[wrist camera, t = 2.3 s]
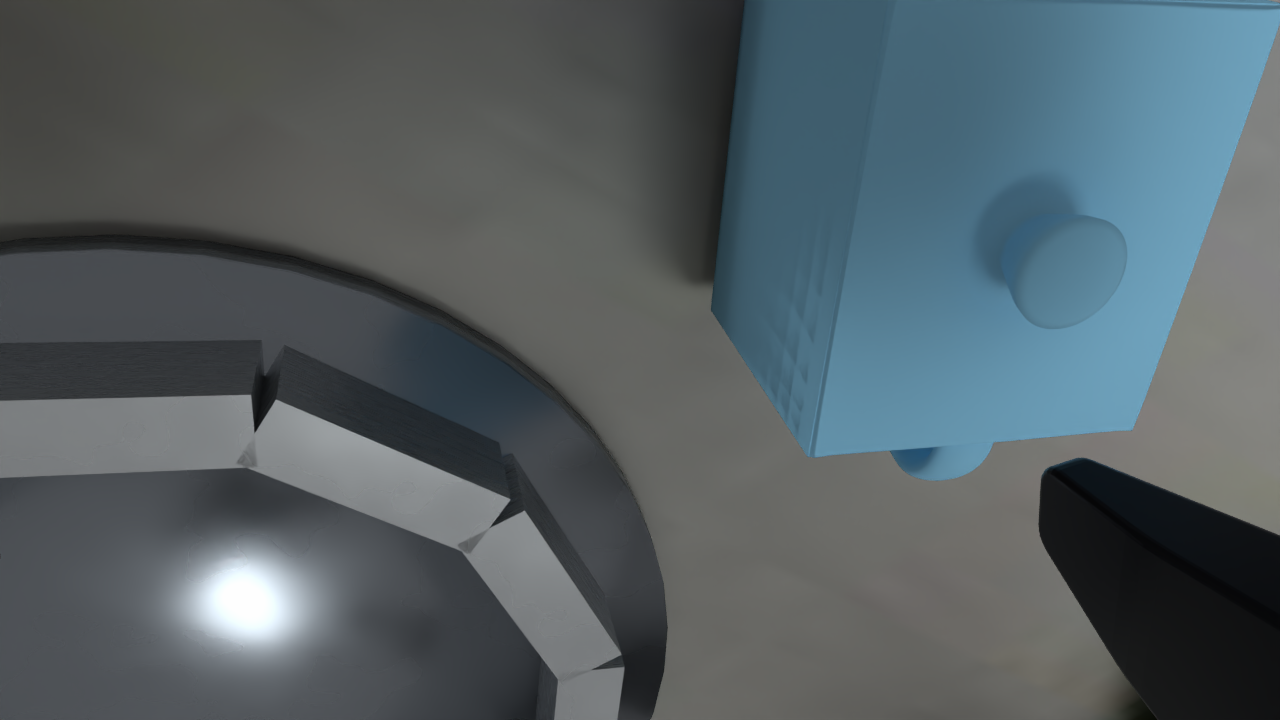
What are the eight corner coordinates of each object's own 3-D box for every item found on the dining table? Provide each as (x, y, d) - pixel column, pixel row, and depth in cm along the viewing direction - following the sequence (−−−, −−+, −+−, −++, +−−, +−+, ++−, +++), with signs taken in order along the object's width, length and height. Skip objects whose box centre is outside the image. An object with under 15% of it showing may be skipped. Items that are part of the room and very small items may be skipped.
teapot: (756, -290, 16) (1004, -344, 10) (1078, -258, 18) (1475, -287, 11) (691, 351, 22) (821, 578, 16) (937, 338, 23) (1148, 540, 17)
